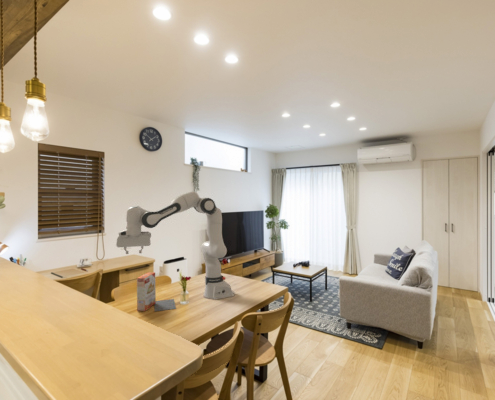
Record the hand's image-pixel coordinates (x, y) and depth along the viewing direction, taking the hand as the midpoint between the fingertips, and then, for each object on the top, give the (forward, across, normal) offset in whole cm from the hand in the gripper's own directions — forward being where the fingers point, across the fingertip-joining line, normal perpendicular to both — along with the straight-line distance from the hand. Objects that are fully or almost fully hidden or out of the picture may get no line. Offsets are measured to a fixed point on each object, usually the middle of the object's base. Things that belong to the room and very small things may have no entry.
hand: (133, 253), depth 179 cm
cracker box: (+35, -8, 0) cm, 36 cm away
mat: (+35, -19, 0) cm, 40 cm away
